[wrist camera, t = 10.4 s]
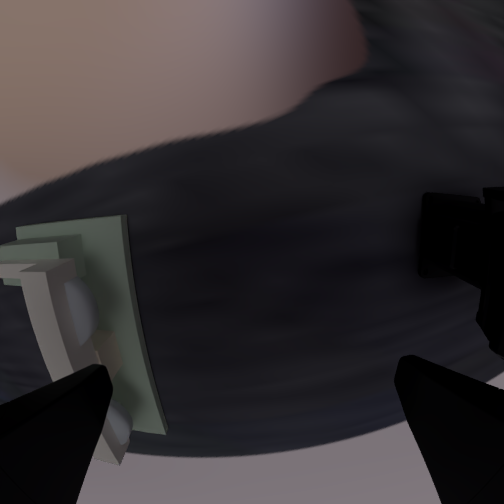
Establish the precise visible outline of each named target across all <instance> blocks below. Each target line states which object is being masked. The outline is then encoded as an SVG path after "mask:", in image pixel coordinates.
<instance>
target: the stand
mask: <svg viewBox="0 0 504 504" xmlns="http://www.w3.org/2000/svg"><path fill="white" fill-rule="evenodd" d="M16 233H17V240H16V241H13V242H10V243H6V244H3V245H0V261H3V260H30V259H66V258H74V261H75V267H76V273H77V276H78V277H79V278H80V279H81V280H82V281H84V282H85V284H86V285H87V286H88V287H89V289H90V290H91V292H92V293H93V295H94V297H95V300H96V302H97V305H98V310H99V324H98V327H97V329H96V331H95V332H94V334H93V335H92V336H91V339H92V342H93V346H94V349H95V352H96V356H97V359H98V362H99V364H101V365H105V366H106V368H107V370H108V373H109V376H110V379H111V382H112V384H113V394H112V399H114V400H116V401H117V402H118V403H120V404H121V405H122V406H123V407H124V408H125V409H126V410H127V411H128V412H129V414H130V415H131V417H132V420H133V429H132V430H136V431H143V432H149V433H156V434H164V435H166V434H167V430H168V425H167V422H166V419H165V416H164V413H163V409H162V406H161V403H160V399H159V396H158V392H157V389H156V385H155V381H154V377H153V374H152V370H151V366H150V361H149V357H148V353H147V349H146V344H145V339H144V335H143V330H142V325H141V320H140V314H139V309H138V303H137V297H136V291H135V285H134V278H133V271H132V263H131V255H130V246H129V237H128V226H127V215H115V216H104V217H94V218H84V219H74V220H65V221H57V222H48V223H40V224H33V225H25V226H20V227H16ZM3 281H4V285H16V286H22V285H21V280H20V279H15V278H3Z"/></svg>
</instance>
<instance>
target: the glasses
mask: <svg viewBox="0 0 504 504" xmlns="http://www.w3.org/2000/svg"><path fill="white" fill-rule="evenodd" d="M0 278H15V279H20V280H21V285H22V289H23V293H24V297H25V301H26V305H27V309H28V312H29V316H30V319H31V323H32V326H33V329H34V332H35V336H36V339H37V341H38V344H39V347H40V350H41V353H42V355H43V358H44V361H45V363H46V366H47V368H48V371H49V373H50V376H51V378H52V380H53V382H54V381H57V380H59V379H61V378H63V377H65V376H68V375H70V374H72V373H74V372H76V371H78V370H81V369H83V368H85V367H87V366H89V365H91V364H99V362H98V359H97V356H96V352H95V349H94V346H93V342H92V339H91V336H92V335H93V334H94V332H95V331H96V329H97V327H98V324H99V310H98V305H97V302H96V300H95V297H94V295H93V293H92V292H91V290H90V289H89V287H88V286H87V285H86V284H85V282H84V281H82V280H81V279H80V278H79V277H78V276H77V273H76V267H75V261H74V258H66V259H30V260H3V261H0ZM132 429H133V420H132V417H131V415H130V414H129V412H128V411H127V410H126V409H125V408H124V407H123V406H122V405H121V404H120V403H118V402H117V401H116V400H114V399H112V398H111V401H110V405H109V408H108V412H107V415H106V419H105V423H104V426H103V430H102V432H101V435H100V438H99V440H98V443H97V445H96V448H95V451H94V453H93V457H94V458H95V459H97V460H101V461H104V462H109V463H112V464H116V465H120V464H121V462H122V459H123V457H124V454H125V452H126V450H127V447H128V445H129V442H130V440H129V435H130V433H131V431H132Z"/></svg>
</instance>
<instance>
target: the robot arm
mask: <svg viewBox="0 0 504 504" xmlns="http://www.w3.org/2000/svg"><path fill="white" fill-rule="evenodd" d="M429 197H430V198H431V200H430V202H429V200H428V199H429ZM483 197H485V204H482V203H481V201H480V199H479V198H478V197H470V196H461V195H452V194H441V193H430V192H427V193H425V194H424V196H423V219H422V228H421V243H420V260H419V269H418V274H419V275H420V276H421V277H422V278H432V277H443V276H452V275H454V276H456V277H458V278H460V279H462V280H464V281H466V282H467V283H469V284H471V285H473V286H475V287H477V288H479V289H481V296H480V303H479V310H478V312H477V314H476V321H477V323H478V324H479V326H480V327H481V329H482V331H483V332H484V334H485V336H486V337H487V339H488V340H489V348H490V349H491V350H492V351H493V352H494V353H496V354H497V355H498V356H500V357H501V358H502V359H503V360H504V187H487V188H483ZM425 269H426V271H425V273H423V271H424V270H425ZM394 383H395V387H396V390H397V393H398V395H399V398H400V401H401V404H402V407H403V410H404V413H405V416H406V419H407V422H408V424H409V427H410V429H411V431H412V433H413V435H414V438H415V440H416V442H417V444H418V447H419V449H420V451H421V454H422V456H423V458H424V461H425V463H426V465H427V468H428V470H429V473H430V475H431V477H432V480H433V483H434V485H435V488H436V490H437V493H438V496H439V498H440V501H441V503H442V504H504V390H503V389H499V388H497V387H494V386H492V385H489V384H486V383H484V382H481V381H478V380H476V379H473V378H470V377H468V376H465V375H463V374H460V373H457V372H455V371H452V370H450V369H447V368H445V367H442V366H440V365H437V364H435V363H432V362H430V361H427V360H425V359H422V358H420V357H417V356H415V355H407V356H403V357H401V358H400V360H399V363H398V367H397V370H396V374H395V378H394ZM112 394H113V384H112V382H111V379H110V376H109V373H108V370H107V368H106V366H105V365H101V364H91V365H89V366H87V367H85V368H83V369H81V370H78V371H76V372H74V373H72V374H70V375H68V376H65V377H63V378H61V379H59V380H57V381H54V382H52V383H50V384H48V385H46V386H43V387H41V388H39V389H37V390H34V391H32V392H30V393H28V394H25V395H23V396H21V397H18V398H16V399H14V400H11V401H10V402H7V403H4V404H2V405H0V504H76V502H77V499H78V496H79V493H80V490H81V487H82V484H83V481H84V478H85V475H86V473H87V470H88V467H89V464H90V461H91V458H92V456H93V453H94V451H95V448H96V445H97V443H98V440H99V438H100V435H101V432H102V430H103V426H104V423H105V419H106V415H107V412H108V408H109V405H110V401H111V398H112Z"/></svg>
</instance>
